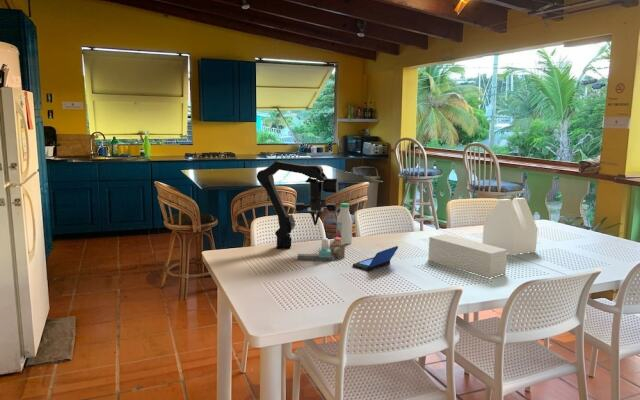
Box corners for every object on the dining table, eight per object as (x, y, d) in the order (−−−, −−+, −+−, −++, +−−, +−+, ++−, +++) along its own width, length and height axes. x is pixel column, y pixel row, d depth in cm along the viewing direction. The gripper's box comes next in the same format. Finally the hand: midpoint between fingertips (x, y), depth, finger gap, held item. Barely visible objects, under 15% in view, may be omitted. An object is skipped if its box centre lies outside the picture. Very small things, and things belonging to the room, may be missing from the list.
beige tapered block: (482, 246, 249) (485, 196, 244) (504, 243, 255) (508, 195, 251) (512, 255, 232) (516, 203, 227) (535, 252, 238) (540, 201, 234)
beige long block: (428, 260, 222) (429, 236, 221) (443, 256, 229) (445, 234, 227) (489, 279, 197) (491, 253, 195) (505, 275, 203) (507, 249, 201)
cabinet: (331, 257, 223) (331, 244, 222) (330, 252, 231) (330, 240, 230) (344, 257, 223) (344, 244, 222) (343, 252, 231) (343, 240, 230)
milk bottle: (351, 241, 254) (352, 202, 250) (351, 244, 246) (352, 205, 243) (336, 240, 254) (337, 201, 251) (335, 244, 247) (336, 204, 243)
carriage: (319, 257, 217) (319, 240, 216) (318, 254, 222) (319, 237, 221) (330, 257, 218) (331, 240, 216) (330, 254, 222) (330, 237, 221)
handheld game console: (373, 260, 221) (374, 239, 220) (398, 266, 212) (399, 245, 211) (351, 267, 210) (351, 246, 208) (376, 274, 201) (377, 252, 199)
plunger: (334, 249, 225) (334, 239, 224) (333, 247, 228) (333, 237, 228) (341, 249, 225) (341, 239, 224) (340, 248, 228) (340, 237, 228)
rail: (297, 260, 218) (297, 255, 218) (297, 258, 221) (297, 253, 221) (333, 260, 219) (334, 255, 219) (333, 258, 222) (333, 254, 221)
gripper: (295, 194, 223) (295, 228, 225) (336, 195, 224) (336, 229, 226) (295, 191, 234) (295, 223, 236) (335, 191, 235) (334, 223, 237)
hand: (315, 225), depth 234 cm, fingers closed
